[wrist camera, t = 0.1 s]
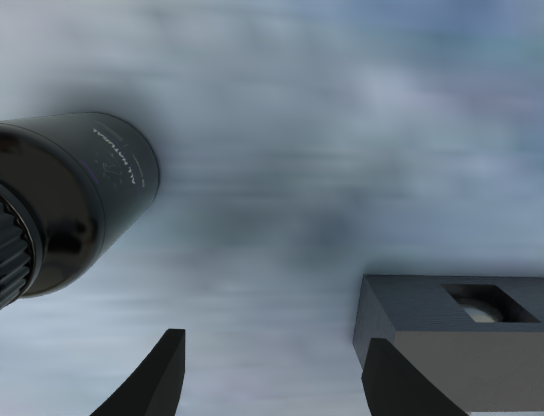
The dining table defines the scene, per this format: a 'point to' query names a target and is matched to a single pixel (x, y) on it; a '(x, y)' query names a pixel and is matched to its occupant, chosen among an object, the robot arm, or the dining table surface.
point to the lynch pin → (479, 312)
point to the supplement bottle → (66, 197)
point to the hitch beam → (461, 336)
